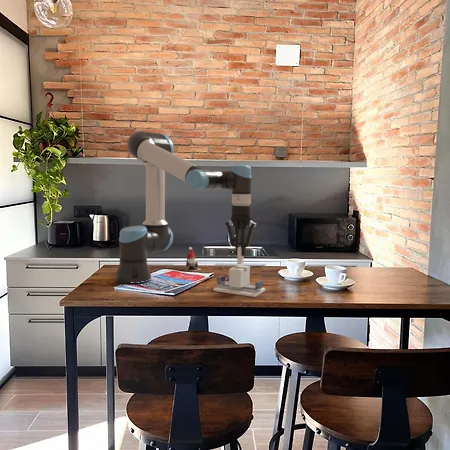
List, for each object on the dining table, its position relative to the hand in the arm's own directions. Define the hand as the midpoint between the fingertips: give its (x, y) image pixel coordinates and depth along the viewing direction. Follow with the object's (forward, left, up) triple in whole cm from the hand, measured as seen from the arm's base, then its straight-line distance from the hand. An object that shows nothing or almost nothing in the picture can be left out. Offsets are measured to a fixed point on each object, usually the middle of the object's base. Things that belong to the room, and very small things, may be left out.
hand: (240, 263), depth 171 cm
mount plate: (0, 0, -11) cm, 11 cm away
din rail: (0, 0, -11) cm, 11 cm away
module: (0, 0, -9) cm, 9 cm away
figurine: (-37, +25, -11) cm, 46 cm away
